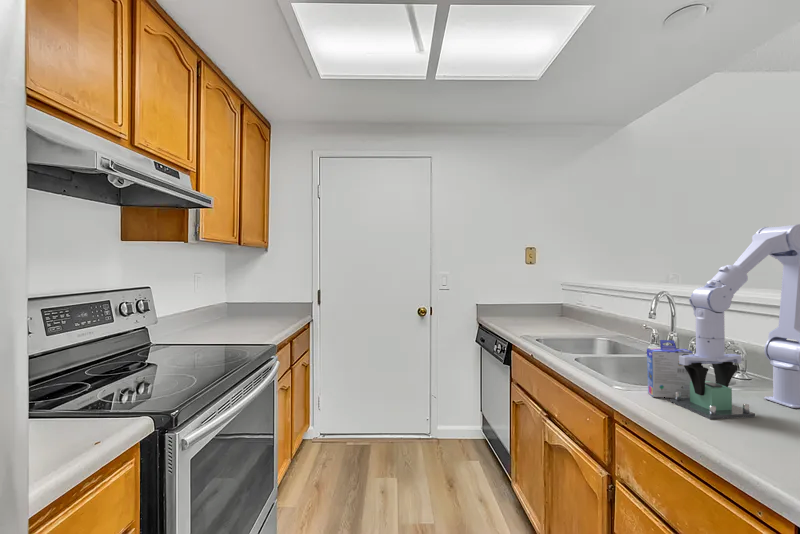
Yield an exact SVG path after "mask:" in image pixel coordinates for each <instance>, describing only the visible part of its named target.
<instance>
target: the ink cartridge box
mask: <svg viewBox="0 0 800 534" xmlns="http://www.w3.org/2000/svg"><path fill="white" fill-rule="evenodd" d="M667 343H668V344H672V345H665V344H667ZM659 344H660V348H646V365H647V367H646V369H647V393H648V394H649V395H650V396H651V397H652V398H664V397H665V398H668V399H669V398H670V399H673V398H675V392H681V398H690V381H691V378H690V376H689V374H688V372H687V370H686V369H685V367H684V365H682V364H679V356H683V355H690V354H694V353H693V351H691V350H688V349H687V348H677V345H676V342H675V340H674V339H673V340H672V339H671V340H670V339H668V340H667V339H660V340H659Z"/></svg>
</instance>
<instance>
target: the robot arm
mask: <svg viewBox="0 0 800 534" xmlns="http://www.w3.org/2000/svg"><path fill="white" fill-rule="evenodd" d="M768 256H770V257H772V258H773V259H775V260H777V261H779V262H780V263H781V264H782V277H781V279H782V280H781V289H780V290H781V292H780V304H779V316H778V317H779V318H778V326H777V327H776V328H774V329H772V330H771V331H769V332H768V338H767V340H766V342H765V344H764V346H763V347H764V349H763V352H764V356H765V358H766V359H768V361H769V362H770V363H769V364H770V365H772V385H773V386H772V389H773V392H772V396H764V397H763V399H765V400H768V401H771V402H773V403H777V404H780V405H783V406H785V407H788V408H793V409H800V223H797V224H791V225H783V226H764V227H761V228H759V229H757V231H756V233H754V234H753V235H751V243H750V244H749V245H748V247H746V249H745V250H744V251H743V252H742V253H741V254H740V256H739V257H738V258H737V260H735V262H734V263H733V264H726V265H723V266H720V267H719V268H718V271H717V273H716V274H715V275H713V277H712V278H711V279H709V280H708V281H707V282H705V285H704V286H701V287H699V286H698V287H697V288H696V289H694V290H693V292H692V293H691V295H690V297H689V298H688V300H689V301H688V302H689V304H690V306H691V308H692V309H693V315H694V317H695V353H693V354H690V355H683V356H679V364H682V365H684V367H685V369H686V370H687V372H688V374H689V376H690V378H691V381H692V383H693V387H694V390H695V393H696V394H699V395H704V393H705V381H706V378H707V374H708V372H709V368H707V367H705V366H704V365H712V369H713V372H714V377H715V383H717V384H720V385H723V386H726V387H729V385H730V382H731V381H732V378H733V377H734V375H735V374H736V372H737V371H739V370H738V369H739V367H738V365H737V364H742V355H741V354H737V353H726V352H725V350H726V349H725V345H726V344H725V341H726V340H725V339H726V337H725V312H726V311H727V310H728V309H730V308H731V305H732V300H733V298H734V296H735V294H736V293H737V292H738V291H739V290H740V289H741V288H742V287H743V286H744V285H745V284H746V283H747V281H748V273H749V272H751V271H752V270H753V269H754V268H755V267H756V266H757V265H759V264H760V263H761V262H762V261H763V260H765V259H766V258H767V257H768Z"/></svg>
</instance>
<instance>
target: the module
mask: <svg viewBox="0 0 800 534" xmlns="http://www.w3.org/2000/svg"><path fill="white" fill-rule="evenodd" d="M732 391H733V389H732V387H729V386H728V387H726V386H723V385H720V384H717V383H716V382H714V381H710V380H705V393H704V395H699V394H696V393H695V390H694V387H693V383H692V381H690V402H692V403H695V404H697V405H699V406H702V407H704V408H707V409H709V410H710V405H713V406H716V410H732V405H733V400H732V399H733V392H732Z"/></svg>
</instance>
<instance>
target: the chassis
mask: <svg viewBox="0 0 800 534" xmlns="http://www.w3.org/2000/svg"><path fill="white" fill-rule="evenodd" d="M670 401H671V402H670V403H672V402H673V403H672V404H674V403H675V404H674V405H677V406H679V407H682V408H683V409H686V410H688V411H691V412H693V413H695V414H697V415H699V416H702V417H704V418H707V419H708V420H718V419H719V420H721V419H722V420H723V419H724V420H725V419H741V418H756V412H752V411H750V404H747V403H742V407H739V406H737V405H733V404H732V410H716V406H713V405H710V410H709V409H707V408H704V407H702V406H699V405H697V404H695V403H692V402H690V398H681V392H675V398H670Z"/></svg>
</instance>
